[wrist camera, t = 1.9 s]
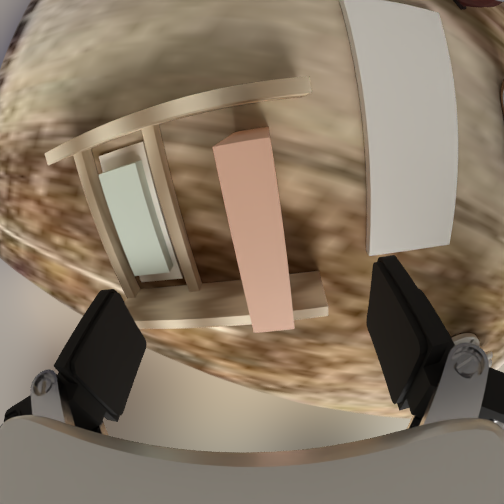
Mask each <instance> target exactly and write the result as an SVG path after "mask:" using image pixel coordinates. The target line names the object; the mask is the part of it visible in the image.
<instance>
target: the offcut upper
mask: <svg viewBox="0 0 504 504" xmlns="http://www.w3.org/2000/svg"><path fill="white" fill-rule="evenodd" d="M99 179H100V182H101V185H102V189H103V192H104V195H105V198H106V201H107V204H108V207H109V210H110V213H111V216H112V219H113V222H114V225H115V228H116V230H117V233H118V236H119V239H120V241H121V244H122V246H123V249H124V252H125V254H126V257H127V259H128V261H129V264H130V266H131V269H132V271H133V273H134V276H140V275H150V274H159V273H169V272H170V271H171V269H172V267H173V263H172V260H171V257H170V254H169V251H168V248H167V245H166V242H165V239H164V236H163V233H162V230H161V227H160V223H159V220H158V217H157V214H156V210H155V207H154V204H153V200H152V197H151V193H150V190H149V186H148V183H147V179H146V175H145V172H144V168H143V164H142V160H140V161H136V162H133V163H130V164H127V165H123V166H120V167H117V168H114V169H111V170H108V171H105V172H103V173H101V174H99Z"/></svg>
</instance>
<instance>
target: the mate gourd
mask: <svg viewBox="0 0 504 504" xmlns="http://www.w3.org/2000/svg"><path fill="white" fill-rule="evenodd" d="M453 1H454V2H455V3H456V5H457V6H458V7H459V8H460V9H461V10H462V9H466V6H470V7H494V6H497V5H499V4H500V3H502V2H504V0H453Z"/></svg>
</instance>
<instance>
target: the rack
mask: <svg viewBox="0 0 504 504" xmlns="http://www.w3.org/2000/svg"><path fill="white" fill-rule="evenodd" d="M310 93H312V88H311V82H310V76H305V77H293V78H283V79H274V80H266V81H259V82H252V83H246V84H240V85H235V86H229V87H224V88H220V89H215V90H210V91H206V92H202V93H198V94H194V95H190V96H186V97H182V98H179V99H175V100H172V101H168V102H165V103H162V104H158V105H155V106H152V107H149V108H146V109H143V110H140V111H138V112H135V113H132V114H129V115H127V116H124V117H121V118H119V119H116V120H114V121H111V122H109V123H106V124H104V125H102V126H99V127H97V128H95V129H93V130H90V131H88V132H86V133H84V134H82V135H80V136H78V137H75V138H73V139H71V140H69V141H67V142H65V143H63V144H62V145H60V146H58V147H56V148H54V149H52V150H50V151H49V152H47V153H45V156H46V160H47V164H48V165H50V164H53V163H55V162H57V161H60V160H62V159H65V158H68V157H70V156H73V155H74V159H75V163H76V166H77V170H78V174H79V177H80V180H81V184H82V187H83V190H84V193H85V196H86V199H87V202H88V205H89V208H90V211H91V214H92V217H93V220H94V222H95V225H96V228H97V230H98V233H99V236H100V238H101V241H102V243H103V246H104V248H105V251H106V253H107V255H108V258H109V260H110V262H111V265H112V267H113V269H114V271H115V274H116V276H117V278H118V280H119V282H120V284H121V287H122V289H123V291H124V293H125V295H126V297H127V299H126V301H125V305H126V306H127V308H128V310H129V312H130V314H131V316H132V317H133V319H134V321H135V323H136V325H137V326H138V328H139V329H173V328H201V327H219V326H235V325H248V324H252V322H251V318H250V314H249V310H248V306H247V301H246V297H245V293H244V288H243V284H242V280H233V281H223V282H213V283H203V284H202V282H201V279H200V276H199V272H198V269H197V266H196V263H195V260H194V256H193V253H192V250H191V246H190V243H189V240H188V236H187V233H186V229H185V226H184V222H183V219H182V215H181V212H180V208H179V204H178V201H177V197H176V193H175V190H174V186H173V182H172V178H171V174H170V170H169V166H168V162H167V158H166V154H165V149H164V145H163V141H162V137H161V132H160V128H159V124H161V123H165V122H168V121H172V120H175V119H179V118H183V117H187V116H191V115H195V114H199V113H203V112H208V111H212V110H217V109H222V108H227V107H232V106H238V105H243V104H249V103H256V102H263V101H270V100H278V99H287V98H296V97H303V96H305V95H307V94H310ZM139 130H142V134H143V138H144V142H145V147H146V151H147V155H148V159H149V163H150V167H151V170H152V174H153V178H154V182H155V185H156V189H157V193H158V196H159V200H160V203H161V207H162V210H163V213H164V217H165V220H166V223H167V227H168V230H169V233H170V236H171V239H172V242H173V245H174V249H175V252H176V255H177V258H178V261H179V264H180V266H181V269H182V272H183V275H184V278H185V281H186V284H187V285H182V286H170V287H158V288H146V289H140V287H139V285H138V283H137V281H136V278H135V276H134V274H133V271H132V269H131V267H130V264H129V262H128V259H127V257H126V254H125V252H124V249H123V247H122V244H121V242H120V239H119V236H118V234H117V231H116V228H115V226H114V223H113V220H112V217H111V214H110V211H109V208H108V205H107V202H106V199H105V196H104V193H103V190H102V186H101V183H100V180H99V176H98V173H97V169H96V166H95V162H94V158H93V155H92V151H91V148H93V147H96V146H98V145H101V144H103V143H106V142H108V141H111V140H113V139H116V138H119V137H122V136H124V135H127V134H130V133H133V132H136V131H139ZM289 279H290V288H291V298H292V308H293V318H294V320H299V319H307V318H315V317H323V316H328V303H327V300H326V296H325V292H324V288H323V284H322V281H321V277H320V273H319V271H312V272H304V273H296V274H289Z"/></svg>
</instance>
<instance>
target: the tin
mask: <svg viewBox="0 0 504 504" xmlns="http://www.w3.org/2000/svg"><path fill="white" fill-rule="evenodd" d="M501 104H502V110H503V116H504V80H503V82H502V86H501Z"/></svg>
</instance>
